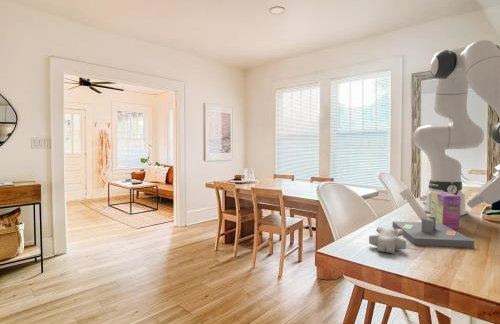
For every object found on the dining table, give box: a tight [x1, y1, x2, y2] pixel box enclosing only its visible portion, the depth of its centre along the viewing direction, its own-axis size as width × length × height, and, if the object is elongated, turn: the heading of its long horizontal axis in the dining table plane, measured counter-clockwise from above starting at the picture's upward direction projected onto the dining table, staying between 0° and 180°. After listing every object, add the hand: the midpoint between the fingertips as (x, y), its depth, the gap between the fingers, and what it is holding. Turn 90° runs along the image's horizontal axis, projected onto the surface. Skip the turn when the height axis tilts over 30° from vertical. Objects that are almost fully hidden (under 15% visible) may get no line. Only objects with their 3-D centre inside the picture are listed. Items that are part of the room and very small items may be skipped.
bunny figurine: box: [368, 226, 407, 254], centre depth 85 cm, size 10×5×15 cm
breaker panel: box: [392, 215, 475, 249], centre depth 94 cm, size 20×16×6 cm
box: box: [430, 191, 461, 230], centre depth 108 cm, size 10×6×12 cm, turn 168°
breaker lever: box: [399, 188, 435, 227], centre depth 96 cm, size 3×4×14 cm
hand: (469, 205), depth 87 cm, fingers closed
